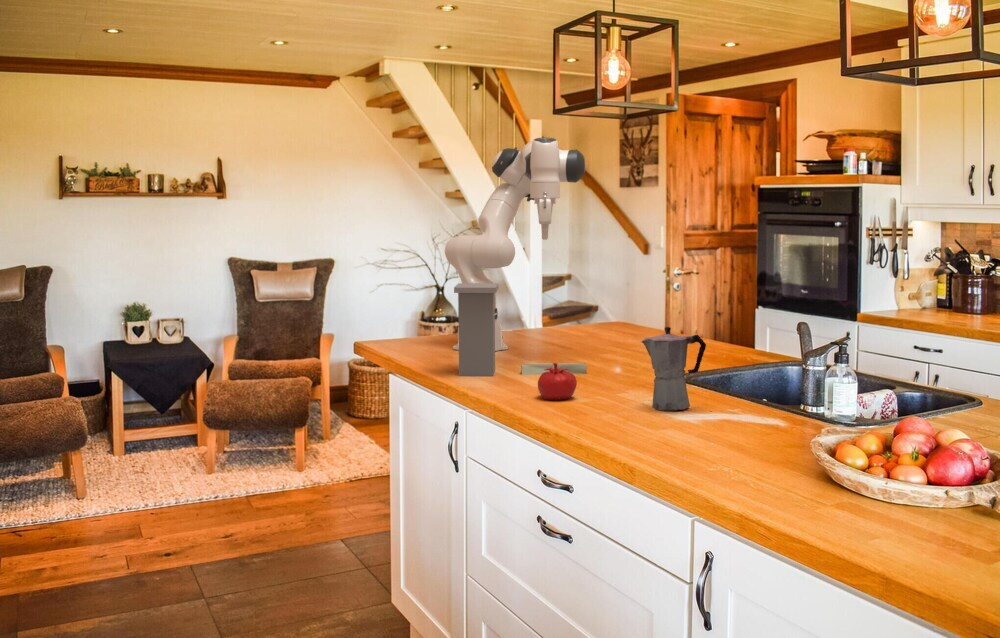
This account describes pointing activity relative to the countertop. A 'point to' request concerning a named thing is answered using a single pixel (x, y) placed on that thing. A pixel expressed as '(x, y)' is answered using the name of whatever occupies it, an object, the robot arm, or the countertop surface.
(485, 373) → the tall stand
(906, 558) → the countertop surface
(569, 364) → the beige block
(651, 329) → the countertop surface
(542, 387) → the pomegranate
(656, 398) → the moka pot
